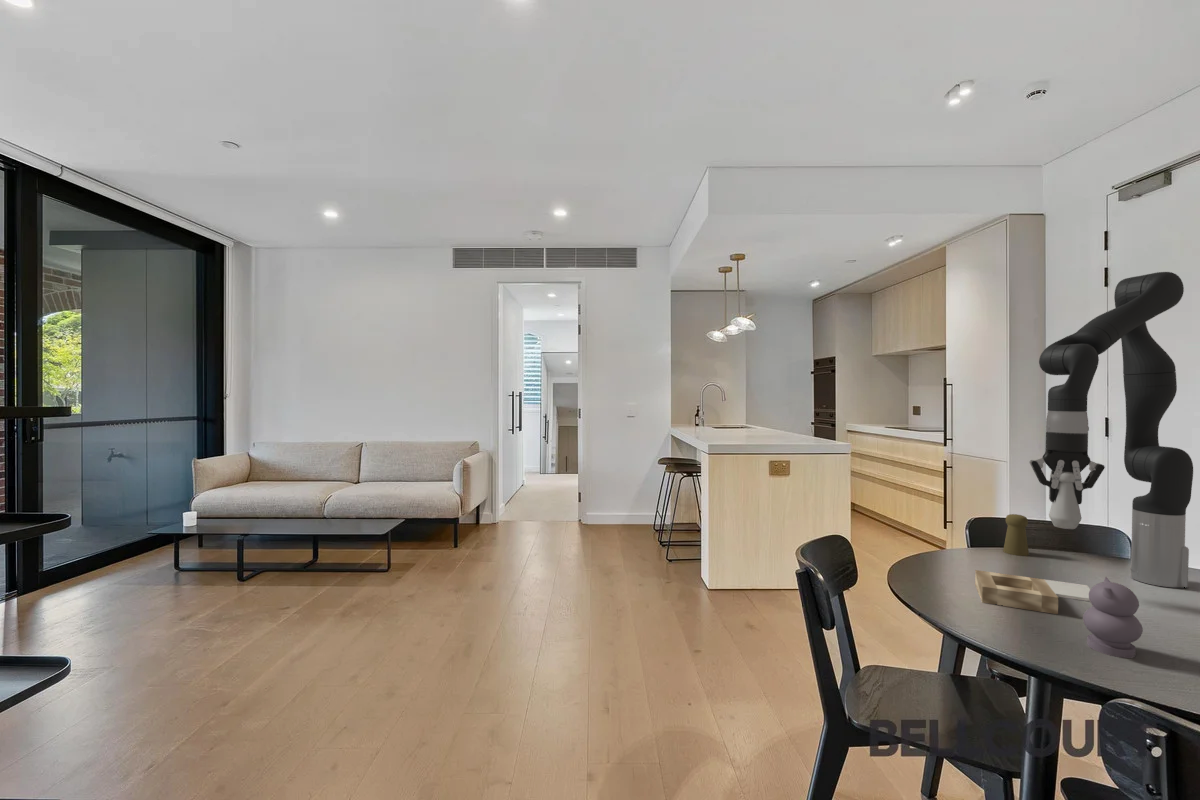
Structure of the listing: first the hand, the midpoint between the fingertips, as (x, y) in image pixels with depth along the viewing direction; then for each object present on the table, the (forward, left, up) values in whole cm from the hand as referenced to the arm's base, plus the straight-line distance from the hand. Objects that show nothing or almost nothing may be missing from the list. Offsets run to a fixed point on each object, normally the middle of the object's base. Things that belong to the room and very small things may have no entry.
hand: (1065, 504), depth 129 cm
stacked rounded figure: (0, +34, -20) cm, 40 cm away
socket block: (+11, +12, -20) cm, 26 cm away
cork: (+4, -33, -20) cm, 39 cm away
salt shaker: (0, 0, -5) cm, 5 cm away
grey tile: (0, 0, -20) cm, 20 cm away
